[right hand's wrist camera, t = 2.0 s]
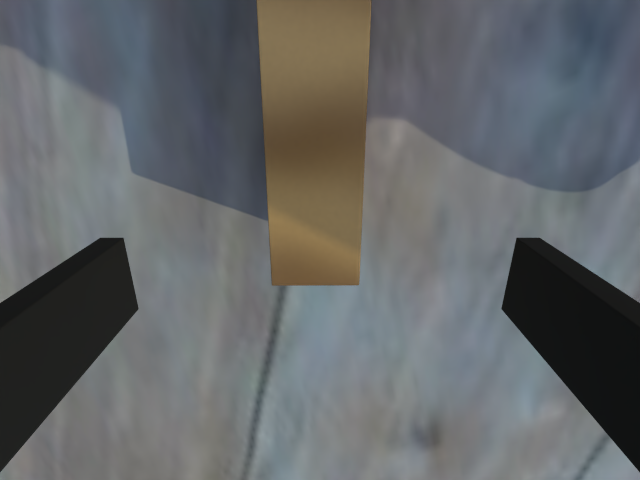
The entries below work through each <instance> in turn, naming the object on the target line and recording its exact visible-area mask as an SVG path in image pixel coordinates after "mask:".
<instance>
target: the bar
mask: <svg viewBox="0 0 640 480" xmlns="http://www.w3.org/2000/svg"><path fill="white" fill-rule="evenodd" d="M256 1H257V20H258V38H259V57H260V75H261V93H262V112H263V130H264V149H265V167H266V186H267V204H268V223H269V241H270V260H271V278H272V285H359V276H360V253H361V230H362V207H363V184H364V161H365V138H366V115H367V92H368V68H369V45H370V22H371V0H256Z"/></svg>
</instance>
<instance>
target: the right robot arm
mask: <svg viewBox="0 0 640 480" xmlns="http://www.w3.org/2000/svg"><path fill="white" fill-rule="evenodd" d="M137 310H138V304H137V299H136V295H135V290H134V285H133V281H132V276H131V271H130V267H129V262H128V257H127V253H126V248H125V243H124V239H123V238H99V239H98V240H96V241H95V242H93V243H92V244H90V245H89V246H87V247H86V248H84V249H83V250H81V251H79V252H78V253H76V254H75V255H73V256H72V257H70V258H69V259H67V260H66V261H64V262H63V263H61V264H60V265H58V266H57V267H55V268H53V269H52V270H50V271H49V272H47V273H46V274H44V275H43V276H41V277H40V278H38V279H37V280H35V281H34V282H32V283H30V284H29V285H27V286H26V287H24V288H23V289H21V290H20V291H18V292H17V293H15V294H14V295H12V296H11V297H9V298H7V299H6V300H4V301H3V302H1V303H0V472H1V471H2V469H3V468H4V467H5V466H6V465H7V464H8V462H9V461H10V460H11V459H12V458H13V456H14V455H15V454H16V453H17V452H18V451H19V449H20V448H21V447H22V446H23V445H24V443H25V442H26V441H27V440H28V439H29V438H30V436H31V435H32V434H33V433H34V432H35V431H36V429H37V428H38V427H39V426H40V425H41V423H42V422H43V421H44V420H45V419H46V418H47V416H48V415H49V414H50V413H51V412H52V410H53V409H54V408H55V407H56V406H57V405H58V403H59V402H60V401H61V400H62V399H63V397H64V396H65V395H66V394H67V393H68V392H69V390H70V389H71V388H72V387H73V386H74V384H75V383H76V382H77V381H78V380H79V379H80V377H81V376H82V375H83V374H84V373H85V371H86V370H87V369H88V368H89V367H90V366H91V364H92V363H93V362H94V361H95V360H96V358H97V357H98V356H99V355H100V354H101V353H102V351H103V350H104V349H105V348H106V347H107V345H108V344H109V343H110V342H111V341H112V340H113V338H114V337H115V336H116V335H117V334H118V333H119V331H120V330H121V329H122V328H123V327H124V325H125V324H126V323H127V322H128V321H129V320H130V318H131V317H132V316H133V315H134V314H135V312H136V311H137ZM502 310H503V311H504V312H505V314H506V315H507V316H508V317H509V318H510V320H511V321H512V322H513V323H514V324H515V325H516V327H517V328H518V329H519V330H520V331H521V333H522V334H523V335H524V336H525V337H526V338H527V340H528V341H529V342H530V343H531V344H532V345H533V347H534V348H535V349H536V350H537V351H538V353H539V354H540V355H541V356H542V357H543V358H544V360H545V361H546V362H547V363H548V364H549V366H550V367H551V368H552V369H553V370H554V371H555V373H556V374H557V375H558V376H559V377H560V379H561V380H562V381H563V382H564V383H565V384H566V386H567V387H568V388H569V389H570V390H571V392H572V393H573V394H574V395H575V396H576V397H577V399H578V400H579V401H580V402H581V403H582V405H583V406H584V407H585V408H586V409H587V410H588V412H589V413H590V414H591V415H592V416H593V418H594V419H595V420H596V421H597V422H598V423H599V425H600V426H601V427H602V428H603V429H604V431H605V432H606V433H607V434H608V435H609V436H610V438H611V439H612V440H613V441H614V442H615V443H616V445H617V446H618V447H619V448H620V449H621V451H622V452H623V453H624V454H625V455H626V456H627V458H628V459H629V460H630V461H631V462H632V464H633V465H634V466H635V467H636V468H637V469H638V471H639V472H640V303H639V302H637V301H636V300H634V299H633V298H631V297H629V296H628V295H626V294H625V293H623V292H622V291H620V290H619V289H617V288H616V287H614V286H613V285H611V284H610V283H608V282H606V281H605V280H603V279H602V278H600V277H599V276H597V275H596V274H594V273H593V272H591V271H590V270H588V269H587V268H585V267H583V266H582V265H580V264H579V263H577V262H576V261H574V260H573V259H571V258H570V257H568V256H567V255H565V254H564V253H562V252H560V251H559V250H557V249H556V248H554V247H553V246H551V245H550V244H548V243H547V242H545V241H544V240H542V239H541V238H517V239H516V243H515V248H514V253H513V257H512V262H511V267H510V271H509V276H508V281H507V285H506V290H505V295H504V299H503V304H502Z"/></svg>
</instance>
